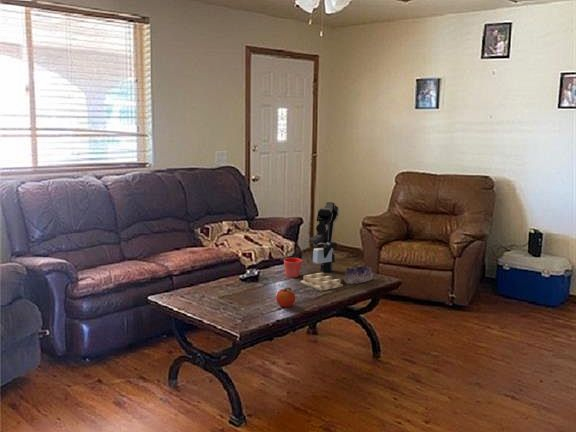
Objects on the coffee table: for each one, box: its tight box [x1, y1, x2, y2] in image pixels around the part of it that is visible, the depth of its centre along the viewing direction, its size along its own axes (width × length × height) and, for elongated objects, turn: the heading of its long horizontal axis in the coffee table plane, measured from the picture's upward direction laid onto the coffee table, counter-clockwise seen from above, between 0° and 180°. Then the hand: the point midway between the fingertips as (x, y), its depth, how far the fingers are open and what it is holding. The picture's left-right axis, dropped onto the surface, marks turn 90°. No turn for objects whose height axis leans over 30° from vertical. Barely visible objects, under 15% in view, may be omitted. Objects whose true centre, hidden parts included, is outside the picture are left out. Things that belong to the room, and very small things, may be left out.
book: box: [312, 247, 333, 264], centre depth 344 cm, size 11×4×8 cm, turn 127°
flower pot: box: [283, 257, 303, 278], centre depth 349 cm, size 11×11×10 cm
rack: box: [300, 272, 344, 292], centre depth 335 cm, size 16×18×4 cm
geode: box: [343, 265, 374, 285], centre depth 344 cm, size 20×12×10 cm, turn 138°
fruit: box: [275, 287, 296, 308], centre depth 295 cm, size 10×10×10 cm
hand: (322, 257), depth 345 cm, fingers closed on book, 4 cm apart
